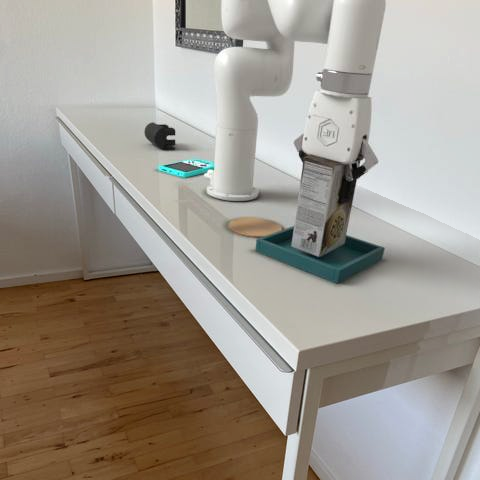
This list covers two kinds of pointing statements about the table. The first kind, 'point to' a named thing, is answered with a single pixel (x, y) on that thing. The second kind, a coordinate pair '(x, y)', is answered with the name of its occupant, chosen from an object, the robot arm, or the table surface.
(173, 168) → the handheld game console
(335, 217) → the coffee box
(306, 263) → the tray
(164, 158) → the table surface
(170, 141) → the end cap
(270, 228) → the coaster
